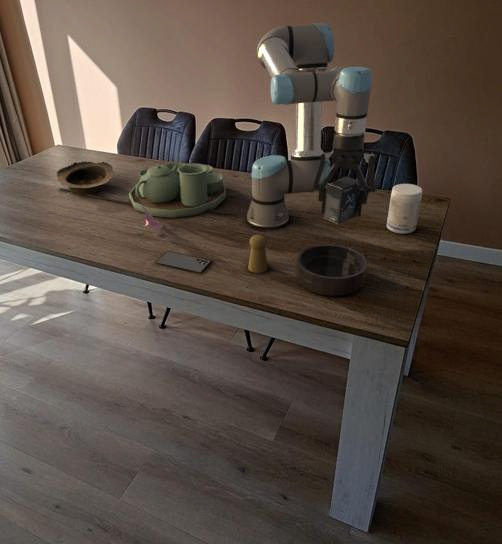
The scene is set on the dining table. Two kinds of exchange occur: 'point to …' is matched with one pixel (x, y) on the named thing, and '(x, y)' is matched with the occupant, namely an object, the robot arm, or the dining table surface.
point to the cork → (258, 254)
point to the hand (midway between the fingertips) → (340, 212)
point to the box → (342, 200)
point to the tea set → (178, 190)
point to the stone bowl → (85, 176)
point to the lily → (151, 221)
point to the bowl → (331, 269)
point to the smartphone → (184, 262)
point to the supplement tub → (404, 208)
